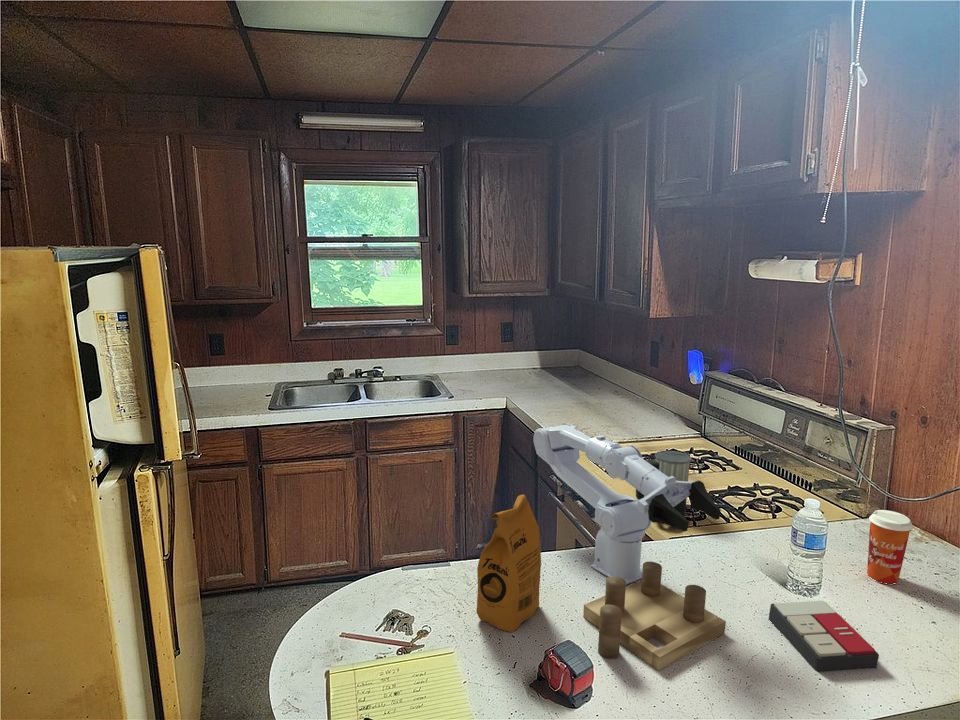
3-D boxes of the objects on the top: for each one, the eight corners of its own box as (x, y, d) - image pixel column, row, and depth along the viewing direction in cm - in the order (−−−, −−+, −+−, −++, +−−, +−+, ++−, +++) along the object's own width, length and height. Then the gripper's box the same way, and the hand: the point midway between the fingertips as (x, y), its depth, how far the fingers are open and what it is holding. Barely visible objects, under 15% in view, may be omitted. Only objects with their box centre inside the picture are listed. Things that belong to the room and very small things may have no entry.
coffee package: (467, 618, 119) (468, 509, 115) (504, 589, 129) (506, 487, 125) (512, 638, 113) (515, 524, 109) (547, 606, 123) (550, 500, 119)
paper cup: (857, 578, 135) (865, 516, 132) (866, 564, 140) (874, 505, 137) (900, 592, 129) (910, 528, 127) (907, 577, 135) (917, 516, 132)
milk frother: (673, 500, 173) (677, 448, 170) (711, 525, 159) (716, 469, 156) (627, 506, 169) (631, 453, 166) (662, 532, 154) (666, 475, 151)
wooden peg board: (583, 616, 120) (585, 578, 118) (647, 588, 130) (650, 552, 128) (658, 670, 105) (661, 627, 104) (724, 633, 115) (728, 593, 114)
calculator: (819, 655, 105) (770, 599, 119) (815, 677, 106) (767, 619, 120) (881, 651, 106) (825, 596, 120) (877, 673, 107) (821, 616, 121)
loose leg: (593, 650, 110) (595, 608, 109) (608, 643, 112) (610, 602, 111) (608, 661, 107) (611, 619, 106) (623, 654, 109) (626, 612, 108)
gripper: (623, 474, 120) (673, 513, 109) (682, 456, 126) (735, 491, 115) (621, 506, 123) (669, 546, 112) (678, 486, 129) (730, 523, 118)
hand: (702, 520), depth 113 cm, fingers open, 7 cm apart
